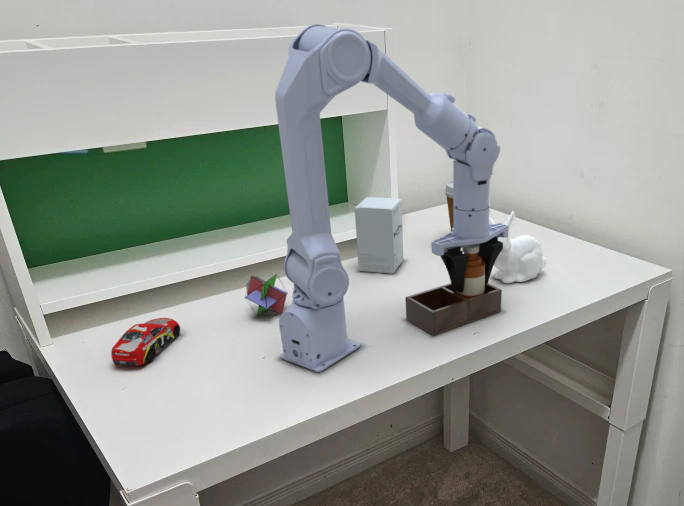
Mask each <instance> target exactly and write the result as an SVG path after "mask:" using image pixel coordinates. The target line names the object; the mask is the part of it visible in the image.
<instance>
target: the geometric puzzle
mask: <svg viewBox="0 0 684 506" xmlns="http://www.w3.org/2000/svg"><path fill="white" fill-rule="evenodd" d="M270 275H273V276H272V277H270V278H269V279H267V280H264V279H263V278H261V277H259V276H260V275H250V278H249V279H248V280H247V283H246V284H245V287H246V288H245V289H246V294H245V296H244V298H243V299H245V301H246V302H247V303H248V305H250V307H251V309H252V311H253V313H255V309H254V308H253V305H252V303H254V304H256V305H258V307H257V312H256V315H255V317H256V318H257V317H259V316H260V315H261V314H262V313H264V312H266V311H267V310H268V311H270V312H273V313H274V312H275V316H277V315H282V314H283V313H284V308H285V304H286V300H287V296H288V294H289V292H288V291H286V290H284V289H286V287H285V286H284V284H283V282H282V281H281V278H280V277H279V275H278V273H275V274H270ZM277 277H278V280H279V282H280V284H281V286H282V288H283V289H281V288H279V287H277V286H276V280H277ZM248 301H249V302H248ZM251 302H252V303H251ZM249 303H250V304H249ZM265 316H266V317H267V315H265V314H264V315H263V317H265Z"/></svg>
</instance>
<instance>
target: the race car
mask: <svg viewBox="0 0 684 506" xmlns="http://www.w3.org/2000/svg"><path fill="white" fill-rule="evenodd" d="M180 334H181V325H180V324H179V323H178V321H176V320H175V319H173V318H171V317H159V318H153V319H149V320H147V321H146V322H144V323H137V324H133V325H132V326H131V327H130V328H128V329H127V330H126V331H125V332H124V333H123V334H122V335H121V337H120V338H119V339H118V340H117V341H116V343H115V344H114V345H113V346H112V348H111V350H110V351H111V352H110V354H111V355H110V356H111V360H112V363H113V364H114V365H115V366H128V367H129V366H130V367H134V366H136V367H137V366H141V365H144V364H147V363H151V362H153V361H154V359H155V356H157V355H158V354H159V352H161V351H162V350H163V349H164V348H165V347H166V346H168V345H169V344H170V343H171V342H172V341H173V340H174V339H175V338H179V336H180Z"/></svg>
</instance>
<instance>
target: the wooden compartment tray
mask: <svg viewBox="0 0 684 506" xmlns="http://www.w3.org/2000/svg"><path fill="white" fill-rule="evenodd" d="M502 293H503V290H502V289H501V288H499V287H497V286H495V285H493V284H491V283H489V282H488V284H485V290H484V294H482V295H479V296H476V297H473V298H470V299H466V298H464V297H462V296H460V295H459V294H457V293H456V291H455V290H453V289H452V285H451V282H449V283H446V284H443V285H440V286H436V287H434V288H430V289H427V290H424V291H420V292H417V293H414V294H411V295H408V296H405V316H406V319H405V320H406V321H408V322H409V323H411V324H413V325H415V326H416V327H418V328H419V329H420V330H423V331H424V332H426V333H428V334H429V335H431V336H433V337H435V336H438V335H440V334H442V333H446V332H448V331H451V330H454V329H457V328H459V327H463V326H465V325H467V324H470V323H473V322H476V321H480V320H481V319H485V318H488V317H489V316H492V315H496V314H498V313H501V311H502Z"/></svg>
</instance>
